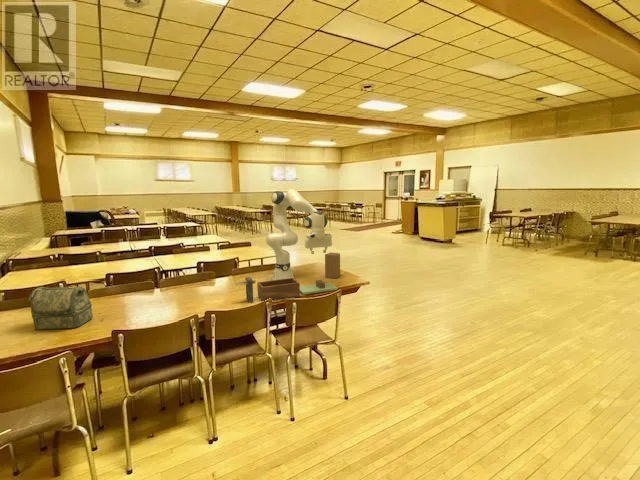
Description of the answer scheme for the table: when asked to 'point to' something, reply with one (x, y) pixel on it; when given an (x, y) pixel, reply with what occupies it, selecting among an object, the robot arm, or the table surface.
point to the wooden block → (332, 265)
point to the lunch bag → (60, 307)
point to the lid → (317, 287)
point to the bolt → (244, 282)
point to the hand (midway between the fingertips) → (318, 253)
